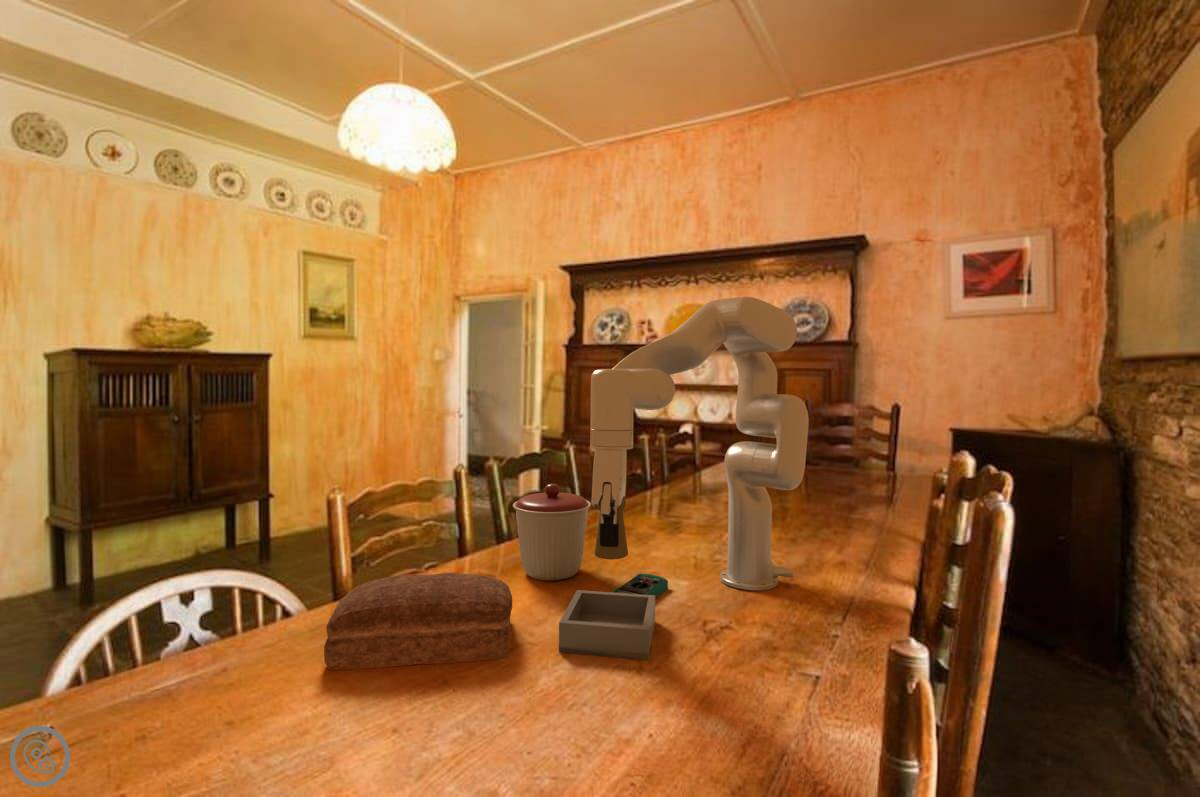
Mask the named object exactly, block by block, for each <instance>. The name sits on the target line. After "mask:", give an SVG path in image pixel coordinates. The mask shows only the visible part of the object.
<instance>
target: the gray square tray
mask: <svg viewBox="0 0 1200 797" xmlns="http://www.w3.org/2000/svg"><path fill="white" fill-rule="evenodd" d="M655 625H656V598H655V595H642V594H627V593H613V591H610V592H609V591H608V592H607V591H596V590H594V591H593V590H582V589H581V590H579V589H577V590H576V591H575V593H574V594H573V596H572V598H571V601H570V602H569V603H568V605H567V607H566V609H565V611H564V613H563V615H562V617H561V619H560V621H559V622H558V653H562V654H564V653H565V654H572V655H573V654H575V655H587V656H598V657H607V658H609V657H612V658H619V659H634V660H645V661H650V657H651V651H652V644H653V643H652V642H653V636H654V632H655V631H654V630H655Z"/></svg>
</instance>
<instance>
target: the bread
mask: <svg viewBox="0 0 1200 797" xmlns="http://www.w3.org/2000/svg"><path fill="white" fill-rule="evenodd" d="M512 609H513V595H512V592H511V588H510V586H509V585H508V584H507V583H505V582H504V581H503V580H501V579H498V578H495V577H492V576H487V575H483V574H476V573H475V574H474V573H473V574H472V573H461V572H441V573H433V574H397V575H391V576H387V577H383V578H379V579H374V580H369V581H367V582H366V581H365V582H364V583H361V584H360V585H357V586H355V587H353V589H351V590H350V591H349V592H348V593H347V594H345V595H344V596H343V597H342V598H341V599H339V602H338V604H337V605H336V607H335V608H334V610H333V611H332V614H331V616H330V618H329V620H328V622H327V624H326V626H325V628H326V629H325V630H326V635H327V638H326V641H325V644H324V647H323V659H324V664H325V665H326V667H327V668H328V670H329V671H337V670H336V669H341V670H357V669H375V668H388V667H398V666H411V665H423V664H424V665H426V664H427V665H429V664H434V665H435V664H448V663H449V664H451V663H462V662H464V663H465V662H473V661H474V662H476V661H477V662H478V661H487V660H497V659H503V658H506V657H507V656H508V654H509V652H510V643H511V615H512Z"/></svg>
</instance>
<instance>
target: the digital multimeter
mask: <svg viewBox="0 0 1200 797" xmlns="http://www.w3.org/2000/svg"><path fill="white" fill-rule="evenodd" d="M668 588H669V580H668V579H666V578H664V577H662V576H658V575H654V574H651V573H649V574H648V573H638V574H637V575H635V576H633V578H631V579H630V580H628V581H627V582H626V583H624V584H622V585H620V586H619V587H618V588H616V589H613V591H612V592H613V593H627V594H642V595H655V599H656V598H657V597H659V596H660V595H661V594H662V593H664V592H665V591H667V590H668Z"/></svg>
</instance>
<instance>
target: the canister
mask: <svg viewBox="0 0 1200 797" xmlns="http://www.w3.org/2000/svg"><path fill="white" fill-rule="evenodd" d="M591 506H592V502H591V501H589V500H587V499H586V498H584V496H581V495H578V494H574V493H569V492H561V487H560V486H559V485H558V484H557V483H549V484H546V485H545V487H544V492H537V493H530V494H528V495H525V496H522V497H521V498H519V499H518V500H517V501H515V502H513V504H512V508H513V509H514V510H515V514H516V515H515V516H516V528H517V535H518V543H519V544H518V545H519V552H520V553H519V554H520V559H521V560H520V561H521V565H522V568H523V571H524V572H525V574H526V575H528V576H529V577H531V578H533V579H536V580H542V581H560V580H564V579H568V578H571V577H574V576H575V575H576V574H577V573H578V572H579V570H580V569H581V566H582V560H583V555H584V548H585V541H586V532H587V531H586V530H587V525H588V524H587V523H588V515H589V514H588V513H589V509H590V508H591Z"/></svg>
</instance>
